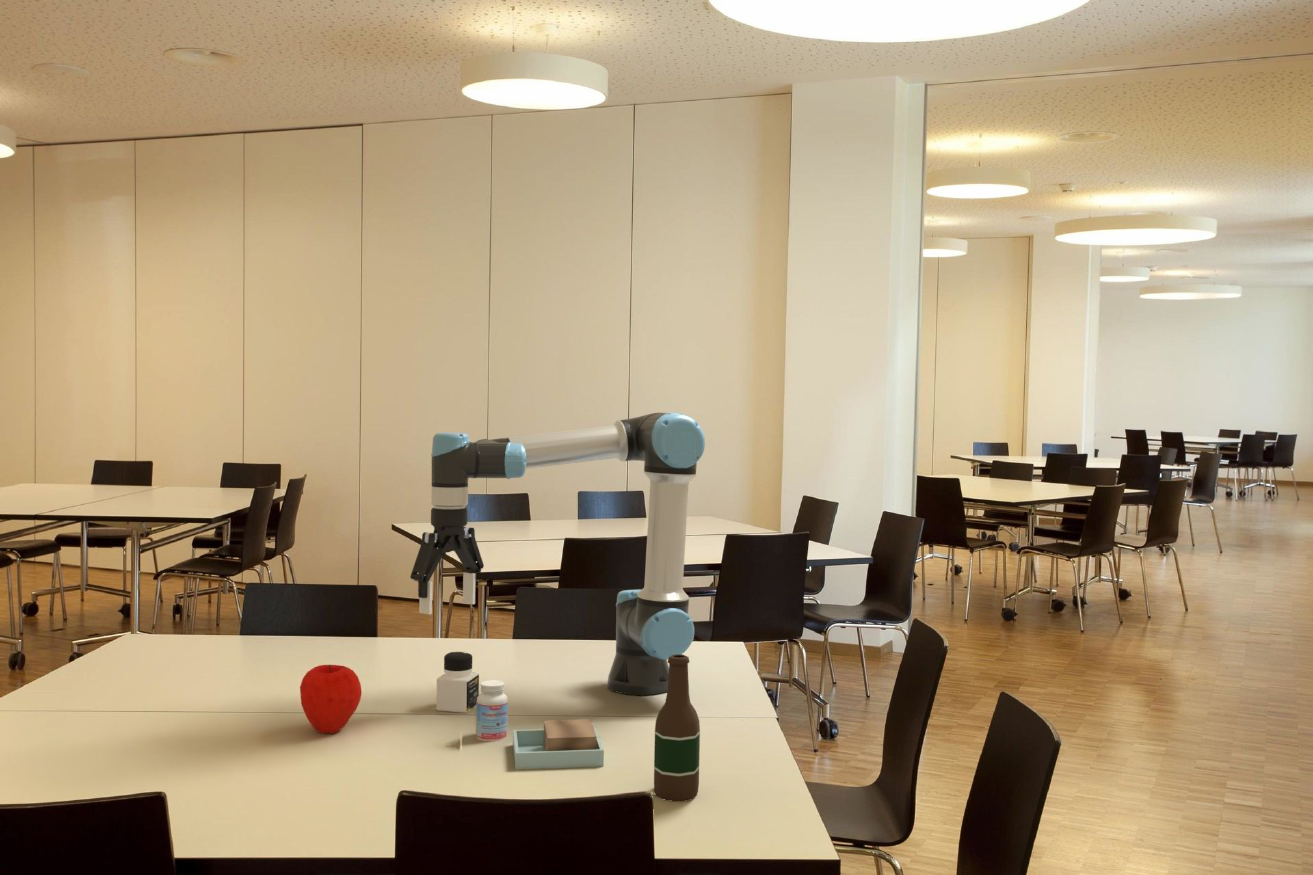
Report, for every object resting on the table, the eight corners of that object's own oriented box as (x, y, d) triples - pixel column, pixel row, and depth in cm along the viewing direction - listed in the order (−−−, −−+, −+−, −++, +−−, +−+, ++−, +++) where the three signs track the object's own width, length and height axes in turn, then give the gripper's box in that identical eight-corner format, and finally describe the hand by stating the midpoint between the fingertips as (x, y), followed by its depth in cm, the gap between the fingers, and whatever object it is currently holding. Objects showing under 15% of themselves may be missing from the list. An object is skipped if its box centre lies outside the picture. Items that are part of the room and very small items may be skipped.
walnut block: (590, 744, 214) (590, 719, 214) (596, 763, 203) (596, 736, 203) (543, 746, 213) (543, 720, 212) (547, 765, 202) (547, 738, 202)
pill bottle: (481, 745, 214) (482, 688, 214) (472, 736, 220) (472, 680, 219) (511, 741, 217) (512, 684, 217) (501, 732, 222) (501, 677, 222)
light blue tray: (595, 745, 216) (595, 727, 216) (603, 769, 202) (603, 750, 202) (512, 747, 213) (513, 729, 213) (515, 772, 199) (515, 753, 199)
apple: (372, 725, 226) (372, 660, 225) (337, 742, 215) (338, 674, 214) (323, 719, 230) (323, 655, 229) (287, 735, 218) (287, 668, 218)
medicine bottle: (467, 713, 236) (467, 657, 235) (435, 710, 237) (436, 655, 237) (479, 704, 243) (479, 650, 242) (448, 702, 244) (449, 648, 244)
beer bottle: (651, 786, 193) (654, 650, 192) (695, 785, 194) (698, 650, 193) (655, 802, 186) (658, 661, 185) (701, 802, 186) (704, 661, 185)
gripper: (473, 501, 242) (472, 597, 243) (393, 510, 221) (392, 615, 221) (501, 503, 238) (499, 601, 239) (422, 512, 217) (420, 620, 217)
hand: (447, 608), depth 230 cm, fingers open, 13 cm apart
